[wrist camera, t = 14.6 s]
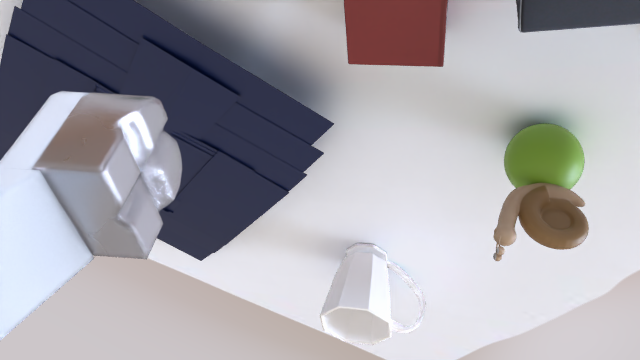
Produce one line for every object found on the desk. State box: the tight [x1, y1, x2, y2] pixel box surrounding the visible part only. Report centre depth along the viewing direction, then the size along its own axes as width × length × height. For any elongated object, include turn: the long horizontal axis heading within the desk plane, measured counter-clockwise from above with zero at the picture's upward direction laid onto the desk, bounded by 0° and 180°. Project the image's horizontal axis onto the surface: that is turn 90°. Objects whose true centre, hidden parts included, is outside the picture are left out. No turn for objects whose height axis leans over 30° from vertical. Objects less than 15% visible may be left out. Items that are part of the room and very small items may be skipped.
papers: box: [0, 0, 334, 261], centre depth 51 cm, size 24×30×4 cm
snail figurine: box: [493, 124, 589, 261], centre depth 41 cm, size 5×6×12 cm
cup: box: [320, 243, 426, 345], centre depth 58 cm, size 7×10×8 cm
